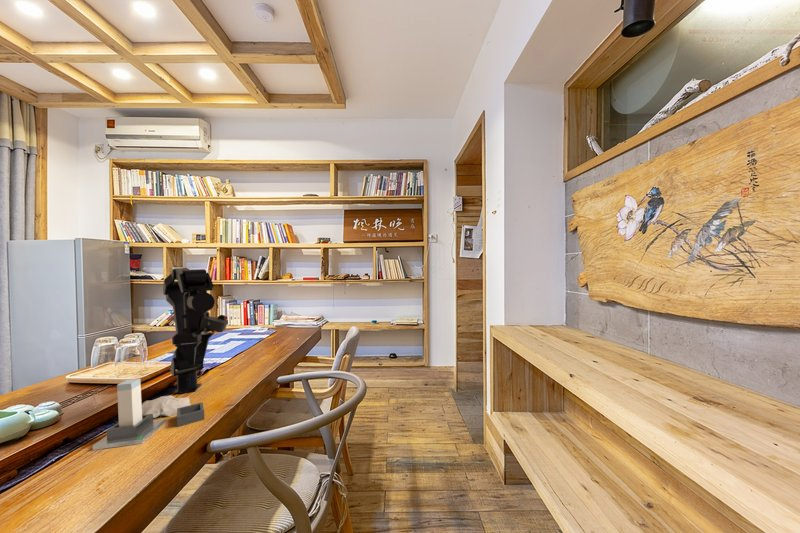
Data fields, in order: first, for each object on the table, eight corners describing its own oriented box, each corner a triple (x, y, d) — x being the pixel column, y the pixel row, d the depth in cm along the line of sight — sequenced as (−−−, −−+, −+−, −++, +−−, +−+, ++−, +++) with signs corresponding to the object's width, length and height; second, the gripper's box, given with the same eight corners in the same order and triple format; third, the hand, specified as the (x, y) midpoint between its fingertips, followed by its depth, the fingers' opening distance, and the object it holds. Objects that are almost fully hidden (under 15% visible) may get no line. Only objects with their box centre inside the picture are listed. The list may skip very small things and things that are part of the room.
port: (122, 428, 82) (121, 415, 82) (165, 422, 83) (164, 409, 83) (92, 450, 72) (91, 435, 72) (142, 443, 74) (141, 428, 74)
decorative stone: (123, 423, 85) (180, 424, 86) (122, 411, 85) (180, 411, 86) (151, 401, 96) (202, 402, 97) (151, 389, 95) (202, 391, 97)
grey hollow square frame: (177, 417, 86) (177, 408, 86) (202, 410, 90) (202, 402, 90) (177, 426, 81) (176, 417, 81) (204, 419, 84) (204, 410, 84)
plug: (129, 428, 79) (126, 379, 79) (142, 427, 80) (140, 378, 80) (119, 436, 76) (117, 384, 76) (133, 434, 76) (131, 383, 76)
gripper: (215, 311, 89) (217, 366, 89) (232, 304, 107) (234, 350, 107) (170, 315, 86) (172, 371, 86) (195, 307, 104) (197, 354, 104)
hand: (197, 360), depth 96 cm, fingers open, 9 cm apart
